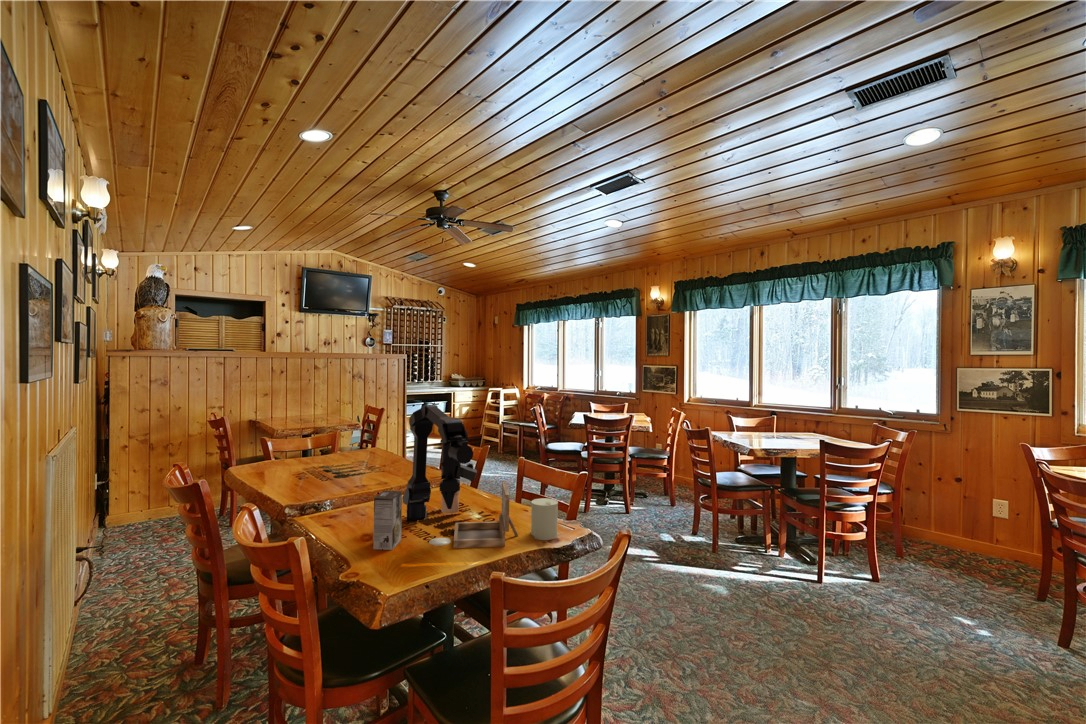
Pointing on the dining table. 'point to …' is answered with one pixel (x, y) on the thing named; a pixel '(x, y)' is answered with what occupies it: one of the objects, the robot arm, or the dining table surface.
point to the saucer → (439, 541)
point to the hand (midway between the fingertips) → (449, 506)
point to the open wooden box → (485, 528)
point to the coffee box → (387, 520)
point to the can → (544, 518)
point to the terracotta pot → (454, 505)
